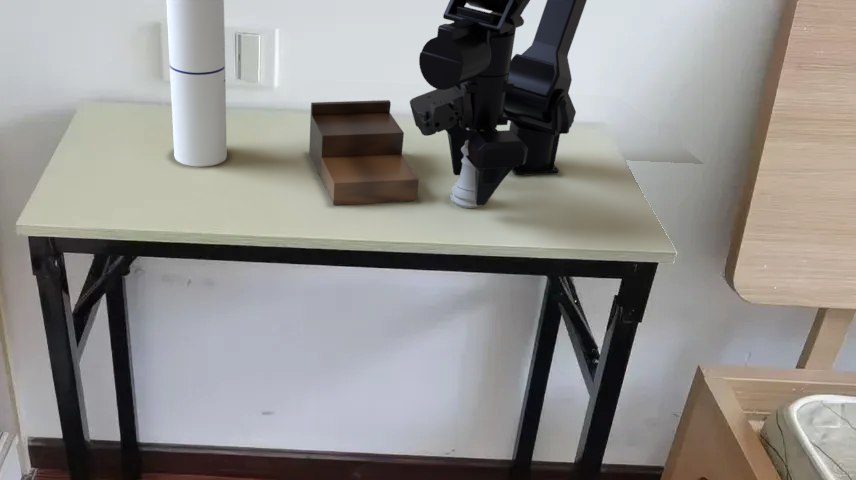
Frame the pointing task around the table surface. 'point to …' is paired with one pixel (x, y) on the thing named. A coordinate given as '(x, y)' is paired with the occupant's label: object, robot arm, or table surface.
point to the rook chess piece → (465, 183)
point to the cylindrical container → (197, 80)
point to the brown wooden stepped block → (360, 153)
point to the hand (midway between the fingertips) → (468, 189)
